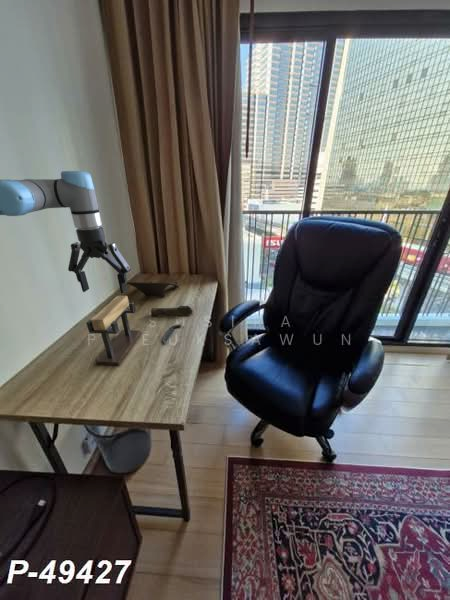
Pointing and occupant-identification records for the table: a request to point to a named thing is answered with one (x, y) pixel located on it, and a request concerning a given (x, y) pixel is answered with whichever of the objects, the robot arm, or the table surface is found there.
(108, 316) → the wooden block
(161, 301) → the table surface
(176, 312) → the hand tool
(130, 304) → the tool rack
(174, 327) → the knife
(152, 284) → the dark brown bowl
